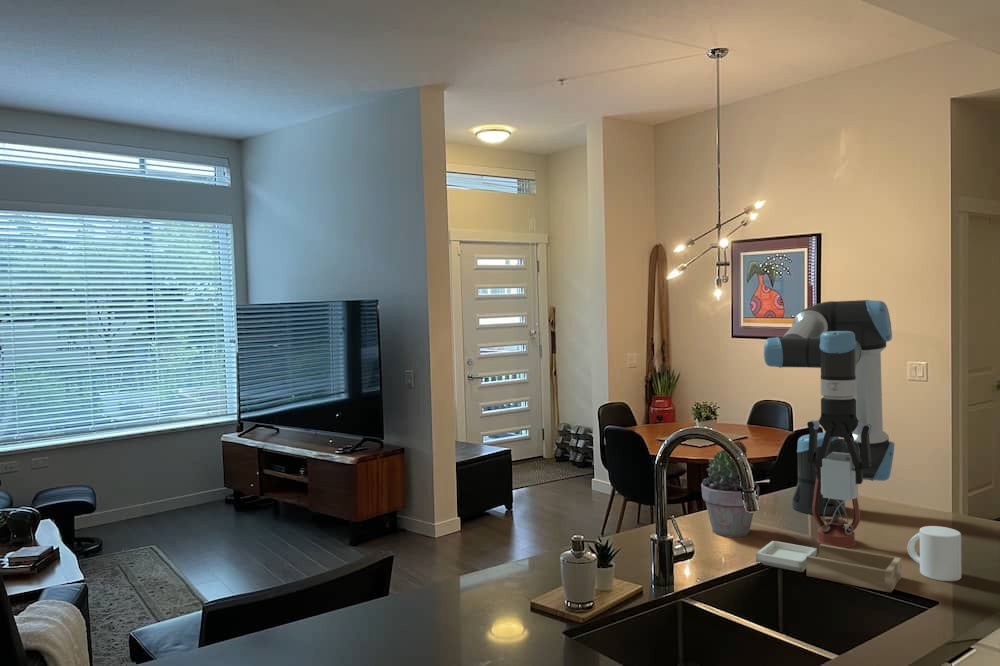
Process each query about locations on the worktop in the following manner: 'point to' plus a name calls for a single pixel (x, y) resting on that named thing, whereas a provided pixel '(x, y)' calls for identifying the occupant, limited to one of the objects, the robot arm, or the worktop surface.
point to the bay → (855, 568)
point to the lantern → (835, 522)
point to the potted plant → (726, 496)
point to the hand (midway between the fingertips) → (839, 495)
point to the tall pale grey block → (837, 476)
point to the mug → (938, 552)
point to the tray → (785, 555)
